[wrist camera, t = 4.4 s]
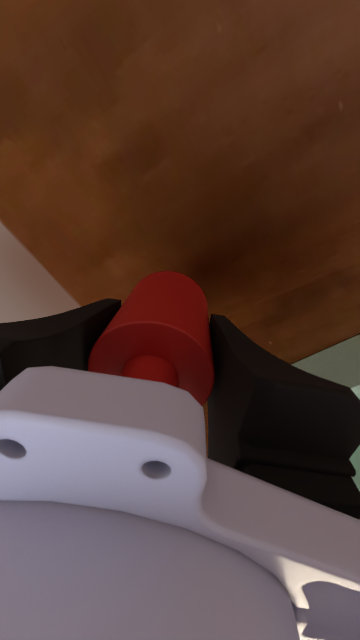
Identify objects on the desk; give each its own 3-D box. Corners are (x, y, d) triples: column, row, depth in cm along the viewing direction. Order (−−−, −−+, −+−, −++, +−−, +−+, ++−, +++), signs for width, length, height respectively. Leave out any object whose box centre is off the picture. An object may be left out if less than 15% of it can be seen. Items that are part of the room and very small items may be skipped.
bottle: (160, 353, 15) (125, 498, 8) (114, 297, 14) (17, 412, 6) (221, 319, 14) (251, 455, 6) (178, 254, 12) (152, 333, 5)
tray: (288, 463, 27) (305, 509, 23) (234, 389, 23) (242, 430, 19) (437, 416, 23) (490, 463, 18) (405, 313, 18) (465, 345, 14)
